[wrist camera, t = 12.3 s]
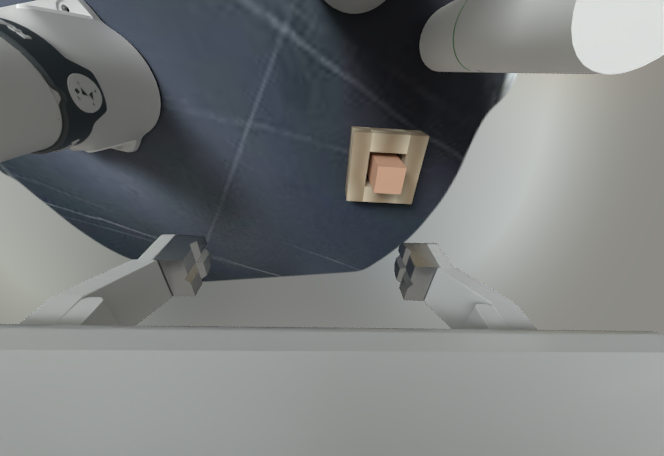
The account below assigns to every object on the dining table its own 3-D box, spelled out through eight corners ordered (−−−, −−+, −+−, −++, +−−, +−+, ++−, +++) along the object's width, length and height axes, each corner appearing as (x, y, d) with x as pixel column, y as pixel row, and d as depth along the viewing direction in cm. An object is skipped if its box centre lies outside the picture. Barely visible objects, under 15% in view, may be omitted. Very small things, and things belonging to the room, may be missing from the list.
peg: (366, 173, 43) (373, 192, 36) (370, 150, 41) (378, 166, 34) (389, 174, 43) (400, 194, 36) (394, 151, 41) (406, 168, 34)
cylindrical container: (461, 75, 35) (661, 82, 14) (412, 68, 34) (542, 65, 13) (484, 8, 31) (808, -121, 10) (429, 0, 31) (648, -155, 9)
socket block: (345, 190, 44) (346, 200, 41) (351, 126, 38) (353, 131, 35) (405, 194, 45) (411, 204, 41) (420, 130, 39) (429, 136, 35)
